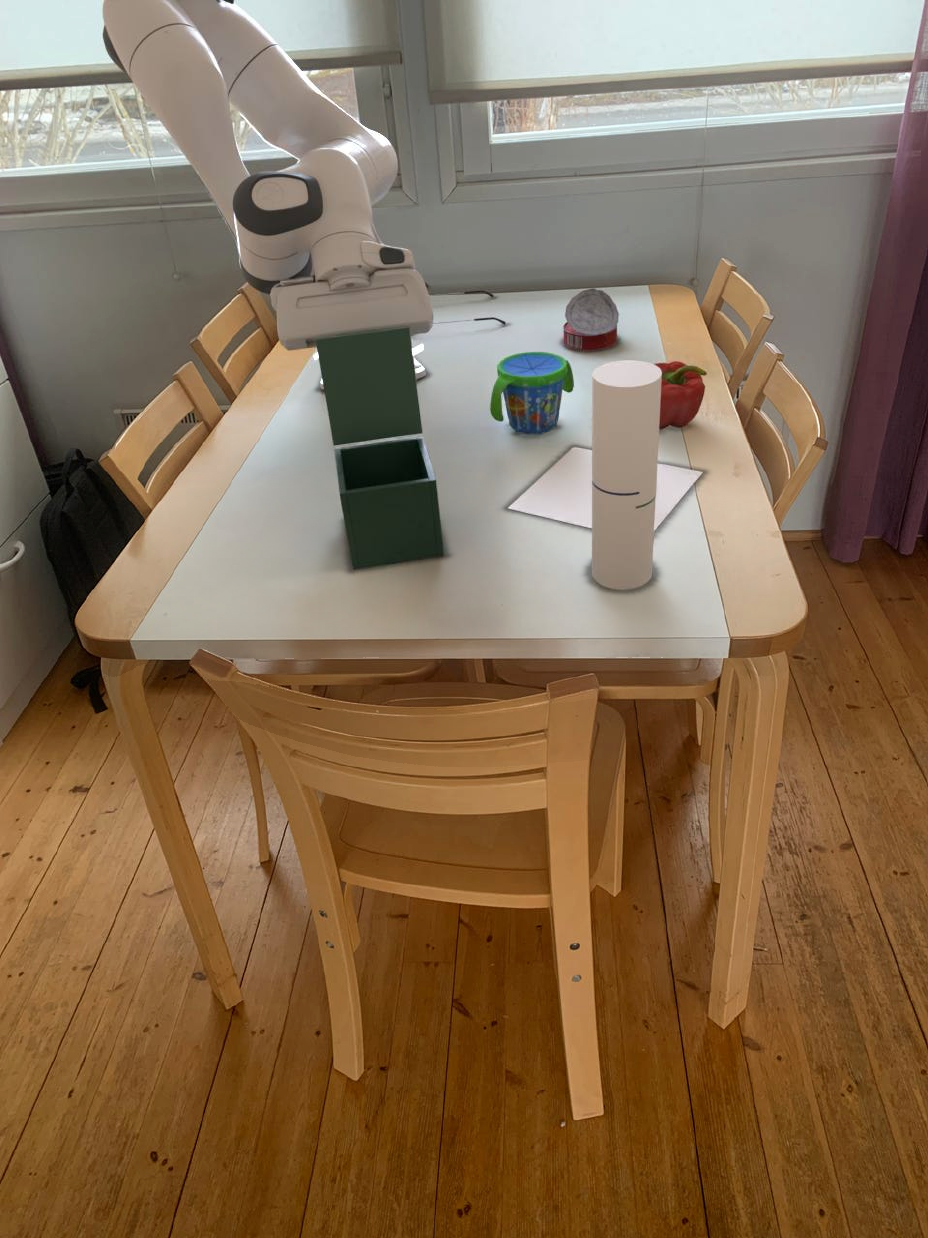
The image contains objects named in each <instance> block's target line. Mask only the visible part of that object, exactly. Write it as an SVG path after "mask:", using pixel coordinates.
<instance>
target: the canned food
mask: <svg viewBox="0 0 928 1238" xmlns="http://www.w3.org/2000/svg"><path fill="white" fill-rule="evenodd" d="M619 315H620V312H619V311H618V308H617V305H616V303H615V302H614V301H613V299H612V297H611V296H610V295H609V294H608V293H607V292H605V291H604V290H602V289H596V288H588V289H584V290H581V291H580V292H578V293H577V294H576V295H574V296H573V297H572V298H570V301H569V302H568V304H567V305H566V307H565V312H564V317H565V320H566V322H565V323H564V324H563V327H562V328H563V331H562V332H563V345H564V347H566V348H568V349H570V350H574V351H578V352H597V351H602V350H607V349H610V348H612V347H613V346H615V345H616V344H617V342H618V323H619V317H620V316H619Z"/></svg>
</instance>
